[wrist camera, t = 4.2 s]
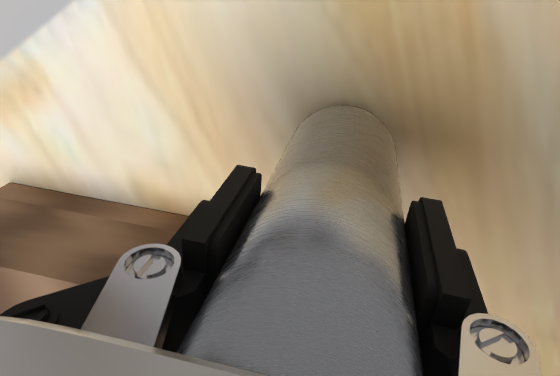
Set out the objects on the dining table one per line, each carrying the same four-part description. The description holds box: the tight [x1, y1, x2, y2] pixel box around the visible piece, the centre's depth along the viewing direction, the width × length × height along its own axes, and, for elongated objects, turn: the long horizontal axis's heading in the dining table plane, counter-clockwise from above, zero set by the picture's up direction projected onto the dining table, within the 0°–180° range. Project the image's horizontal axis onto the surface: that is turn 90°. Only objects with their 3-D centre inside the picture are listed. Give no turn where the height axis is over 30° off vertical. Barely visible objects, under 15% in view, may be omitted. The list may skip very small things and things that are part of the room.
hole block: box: [0, 183, 189, 315], centre depth 21 cm, size 20×12×6 cm, turn 85°
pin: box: [176, 105, 423, 376], centre depth 10 cm, size 4×4×14 cm
